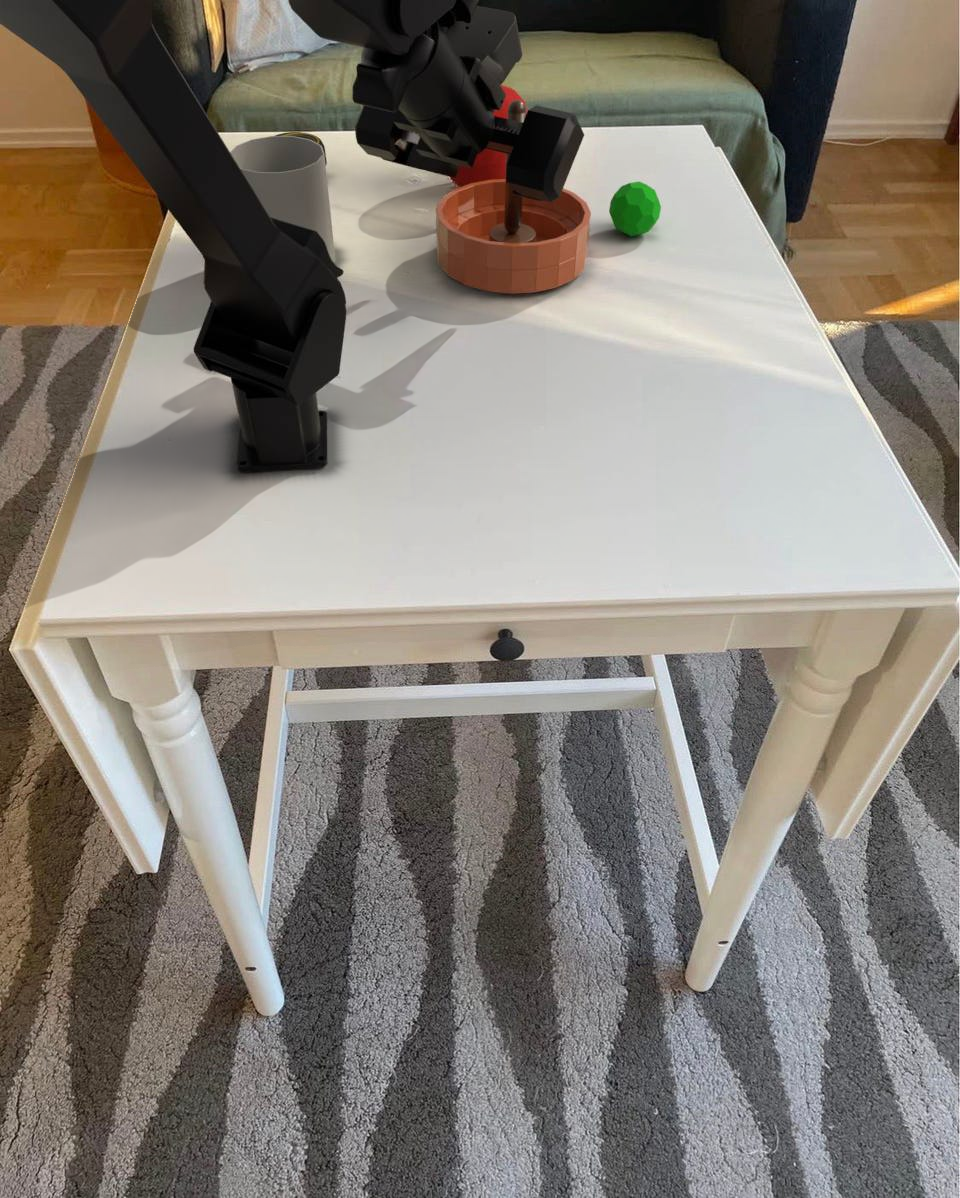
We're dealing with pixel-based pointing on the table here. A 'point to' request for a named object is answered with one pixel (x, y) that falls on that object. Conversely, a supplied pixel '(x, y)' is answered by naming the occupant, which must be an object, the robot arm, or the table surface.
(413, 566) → the table surface
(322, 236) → the cup
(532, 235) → the brown joystick
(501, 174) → the apple
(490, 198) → the bowl
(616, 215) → the polyhedron
